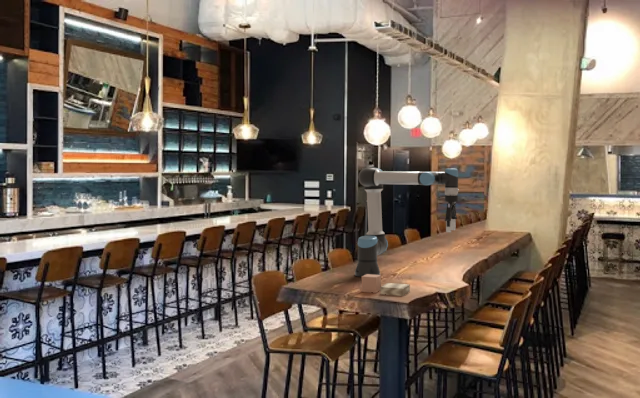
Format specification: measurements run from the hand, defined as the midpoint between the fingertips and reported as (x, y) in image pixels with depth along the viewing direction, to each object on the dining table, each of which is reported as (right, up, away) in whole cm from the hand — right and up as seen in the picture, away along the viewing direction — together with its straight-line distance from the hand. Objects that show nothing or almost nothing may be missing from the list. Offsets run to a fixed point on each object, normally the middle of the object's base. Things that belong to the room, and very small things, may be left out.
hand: (450, 231), depth 367 cm
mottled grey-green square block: (-38, -30, -43) cm, 65 cm away
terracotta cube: (-50, -29, -38) cm, 69 cm away
